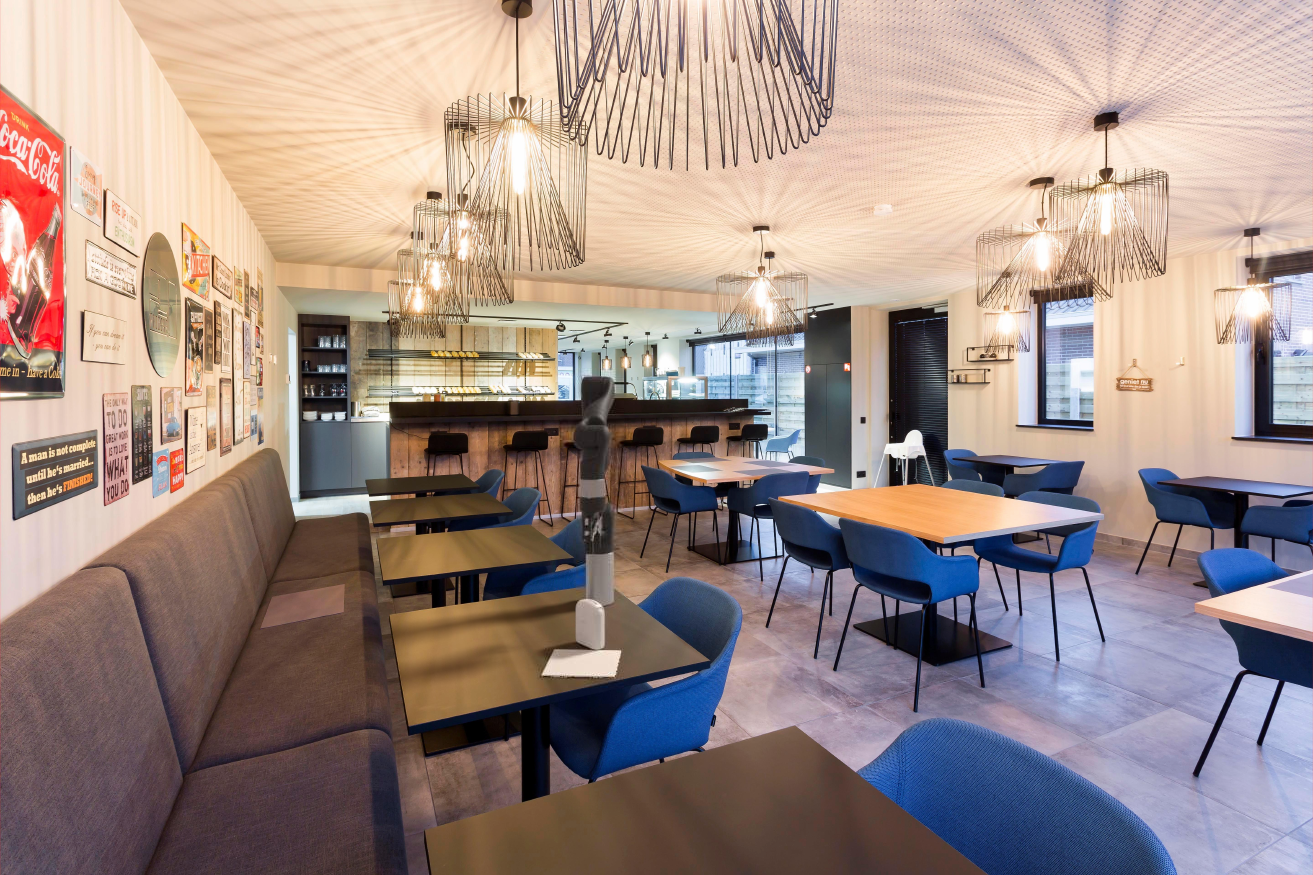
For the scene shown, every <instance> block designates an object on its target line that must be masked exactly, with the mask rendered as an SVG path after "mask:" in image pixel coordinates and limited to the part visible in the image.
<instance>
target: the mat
mask: <svg viewBox="0 0 1313 875" xmlns="http://www.w3.org/2000/svg"><path fill="white" fill-rule="evenodd" d="M621 653H622V650H621V649H620V650H615V649H614V650H613V649H610V650H609V649H607V650H606V649H604V650H603V649H599V650H595V649H559V648H558V649H557V648H556V649H555V648H554V649H553V652H552V654H551V656H550V658H549V659H548V661H547V663H546V666H545V667H544V669H543V671H542V673H541V677H542V676H551V677H550V678H567V677H572V676H574V677H590V678H589V679H603V678H602V677H615V675H616V676H617V672H618V668H617V667H619V664H620V660H619V659H621V655H622V654H621ZM618 663H619V664H618ZM616 671H617V672H616ZM552 676H553V677H552ZM560 676H562V677H560ZM563 676H564V677H563ZM591 677H593V678H591ZM598 677H599V678H598ZM615 678H616V677H615Z"/></svg>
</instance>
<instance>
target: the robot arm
mask: <svg viewBox="0 0 1313 875" xmlns="http://www.w3.org/2000/svg"><path fill="white" fill-rule="evenodd" d="M615 394H616V386H615V382H614V379H613V377H611V376H605V375H604V376H599V375H598V376H595V375H593V376H592V375H591V376H588V375H587V376H584V377H582V378H581V382H580V398H581V399H580V401H581V402H580V403H581V415H582V417H581V418H582V420H581V421H580V422H579V423H578V425H577V426H576V427H575V428H574V432H573V434H572V435H573V436H572V441H573V445H574V446H575V447H576V448H577V449H579V450H581V460H580V462H579V488H578V490H579V491H578V492H579V493H578V494H579V498H578V499H579V502H578V503H579V504H578V505H579V506H578V507H579V508H578V510H579V511H580V512H581V516H580V517H581V526H582V530H581V531H582V532H581V534H582V535H581V539H582V540H583V541H584V553H585V562H586V563H585V569H586V570H585V575H586V576H585V578H586V579H585V581H586V582H585V591H586V592H585V599H591V600H594V601H596V602H598V603H599V604H600V605H601V606H602V607H604V606H610V605H611V604H613V603H614V602H615V600H614V599H615V598H614V597H615V593H614V592H615V584H614V583H615V578H614V577H615V576H614V573H615V572H614V571H615V570H614V568H615V562H614V560H615V556H614V555H615V554H614V551H615V550H614V549H615V547H614V543H615V542H614V538H615V537H614V536H615V534H614V533H615V532H614V531H615V519H616V518H615V515H616V514H615V507H614V505H613V504H612V503H611V502H609V503H608V502H607V500H606V496H607V494H606V493H607V492H606V489H607V488H606V487H607V486H606V480H605V478H606V477H605V475H606V472H607V471H608V469H609V467H610V463H611V444H610V442H611V437H612V436H611V434H612V433H611V430H610V429H609V427H608V426H607V420H608V415H609V412H610V411H611V410H610V409H611V408H612V406H613V403H614V400H615ZM602 533H603V534H602Z"/></svg>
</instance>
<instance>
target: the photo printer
mask: <svg viewBox="0 0 1313 875" xmlns="http://www.w3.org/2000/svg"><path fill="white" fill-rule="evenodd" d="M605 611H606V610H605V608H604V606H601V605H600V604H599V603H598V602H596V601H594V600H591V599H586V598H584V599H580V600H578V602H577V603H576V605H575V641H576V643H579V644H580V645H583V646H585V647H587V648H589V649H590V650H603V649H604V647H605V646H606V612H605Z"/></svg>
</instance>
